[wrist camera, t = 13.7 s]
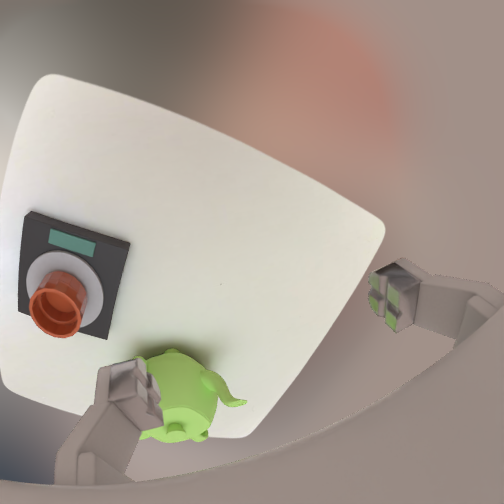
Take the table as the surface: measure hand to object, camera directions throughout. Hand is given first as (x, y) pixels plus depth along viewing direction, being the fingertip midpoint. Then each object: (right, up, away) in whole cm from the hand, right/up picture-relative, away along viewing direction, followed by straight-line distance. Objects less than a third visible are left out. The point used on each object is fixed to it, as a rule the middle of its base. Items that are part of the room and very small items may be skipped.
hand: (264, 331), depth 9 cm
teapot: (-13, -16, +34) cm, 40 cm away
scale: (-24, -1, +23) cm, 34 cm away
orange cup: (-24, -3, +21) cm, 32 cm away
